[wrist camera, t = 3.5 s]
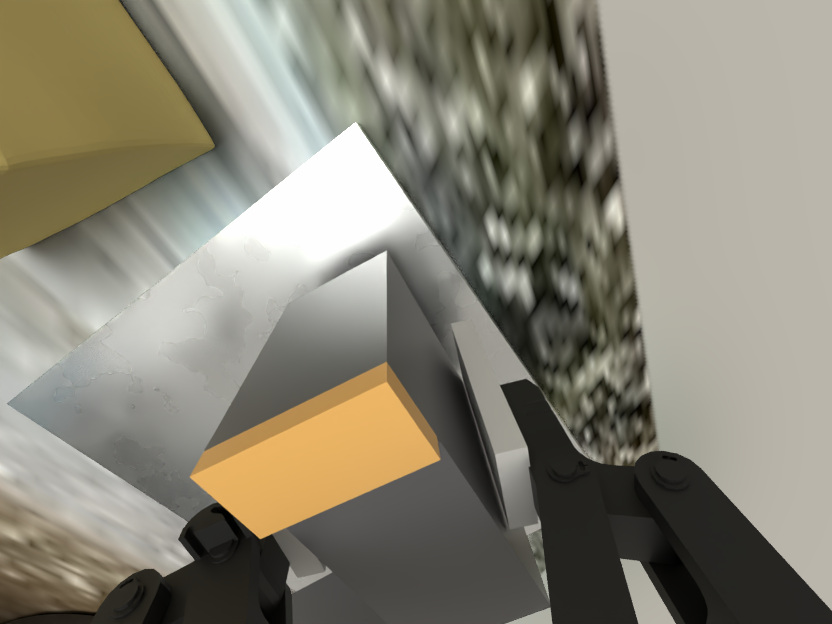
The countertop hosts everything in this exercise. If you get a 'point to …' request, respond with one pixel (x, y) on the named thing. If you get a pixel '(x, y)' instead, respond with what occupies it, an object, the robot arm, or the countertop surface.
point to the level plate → (248, 322)
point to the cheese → (82, 115)
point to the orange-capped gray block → (373, 458)
